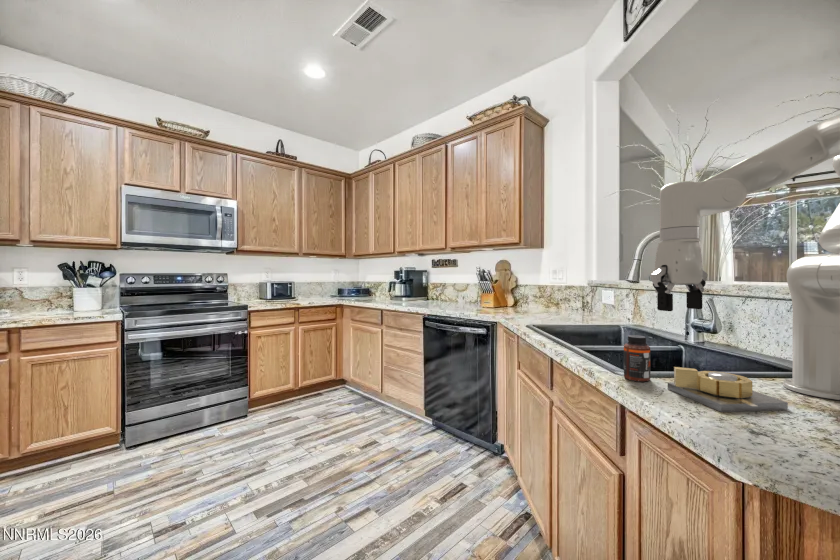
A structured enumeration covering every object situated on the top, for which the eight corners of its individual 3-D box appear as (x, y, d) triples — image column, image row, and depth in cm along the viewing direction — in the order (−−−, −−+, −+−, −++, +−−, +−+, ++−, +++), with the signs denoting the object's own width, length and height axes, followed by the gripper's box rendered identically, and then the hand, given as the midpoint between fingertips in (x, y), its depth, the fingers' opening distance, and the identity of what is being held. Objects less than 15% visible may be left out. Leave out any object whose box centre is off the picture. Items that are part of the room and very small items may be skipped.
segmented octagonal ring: (741, 387, 78) (741, 369, 78) (758, 400, 70) (758, 380, 70) (671, 379, 84) (671, 363, 84) (679, 390, 76) (678, 372, 76)
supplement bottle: (654, 383, 87) (654, 338, 87) (628, 382, 89) (628, 337, 88) (644, 376, 93) (644, 334, 93) (620, 375, 94) (620, 334, 94)
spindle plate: (723, 387, 84) (723, 365, 84) (796, 412, 68) (796, 386, 68) (667, 388, 83) (667, 367, 83) (727, 414, 68) (727, 388, 67)
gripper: (688, 238, 87) (688, 306, 88) (637, 237, 82) (637, 310, 82) (722, 235, 80) (722, 309, 80) (669, 233, 75) (669, 313, 75)
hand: (680, 309), depth 81 cm, fingers open, 9 cm apart
